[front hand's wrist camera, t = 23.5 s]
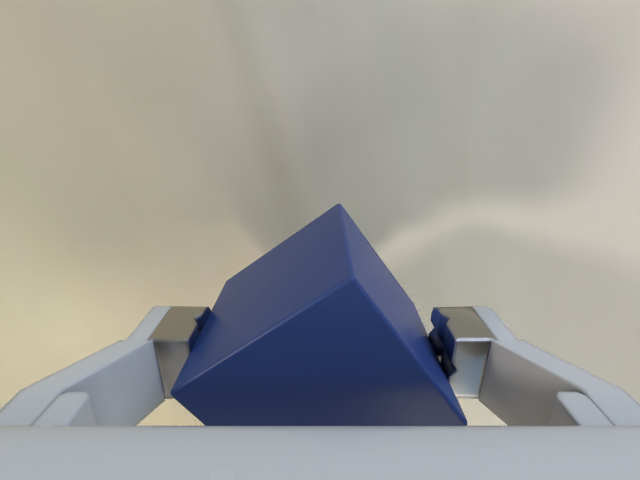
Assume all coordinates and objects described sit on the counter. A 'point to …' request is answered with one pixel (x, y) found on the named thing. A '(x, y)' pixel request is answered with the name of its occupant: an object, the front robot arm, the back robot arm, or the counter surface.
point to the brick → (316, 342)
